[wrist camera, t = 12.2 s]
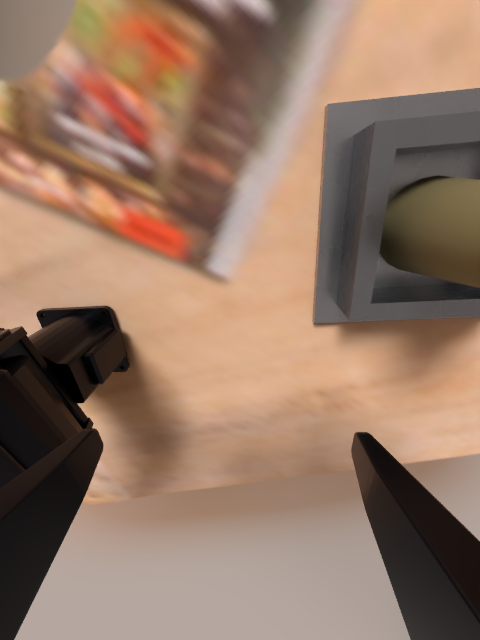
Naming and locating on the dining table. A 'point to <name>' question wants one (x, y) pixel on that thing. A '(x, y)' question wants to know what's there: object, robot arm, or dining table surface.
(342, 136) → the collar holder
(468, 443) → the dining table surface
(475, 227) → the cork
